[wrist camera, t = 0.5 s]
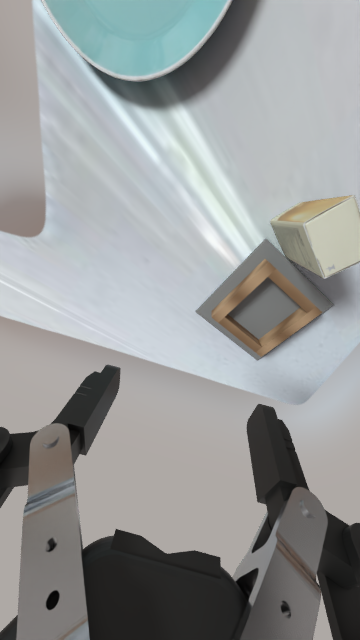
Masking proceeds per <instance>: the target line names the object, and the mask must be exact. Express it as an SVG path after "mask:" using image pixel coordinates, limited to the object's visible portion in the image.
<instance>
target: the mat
mask: <svg viewBox="0 0 360 640" xmlns="http://www.w3.org/2000/svg"><path fill="white" fill-rule="evenodd" d="M264 259H266V260H267V261H269V262H270V263H271V264H272V265H273V266H274V267H275V268H276V269H277V270H278V271H279V272H280V273H281V274H282V275H283V276H284V277H286V278H287V279H288V280H289V281H290V282H291V283H292V284H293V285H294V286H295V287H296V288H297V289H298V290H299V291H300V292H301V293H302V294H303V295H305V296H306V297H307V298H308V299H309V300H310V301H311V302H312V303H313V304H314V305H315V306H316V307H317V308H318V309H319V310H320V311H321V312H323V313H324V312H325V311H326V310H328V309H329V308H331V307H332V306H333V305H334V304H333V303H332V302H331V301H330V300H329V299H328V298H327V297H325V296H324V295H323V294H322V293H321V292H320V291H319V290H318V289H317V288H316V287H315V286H314V285H313V284H312V283H311V282H310V281H309V280H308V279H307V278H306V277H305V276H304V275H303V274H302V273H301V272H300V271H299V270H298V269H297V268H296V267H295V266H294V265H293V264H292V263H291V262H290V261H289V260H288V259H287V258H286V257H285V256H284V255H282V254H281V253H280V252H279V251H278V250H277V249H276V248H275V247H274V246H273V245H272V244H271V243H270V242H269V241H268V240H267V239H265V240H264V241H263V242H262V243H261V244H260V245H259V246H258V247H257V248H256V249H255V250H254V251H253V252H252V253H251V254H250V255H249V256H248V257H247V258H246V259H245V261H244V262H243V263H242V264H241V265H240V266H239V267H238V268H237V269H236V270H235V271H234V272H233V273H232V274H231V275H230V276H229V277H228V278H227V279H226V280H225V281H224V282H223V283H222V284H221V285H220V287H219V288H218V289H217V290H216V291H215V292H214V293H213V294H212V295H211V296H210V297H209V298H208V299H207V300H206V301H205V302H204V303H203V304H202V305H201V306H200V307H199V308H198V309H197V310H196V313H198V314H199V315H200V316H201V317H203V318H204V319H205V320H206V321H208V322H209V323H210V324H212V325H213V326H214V327H215V328H217V329H218V330H219V331H220V332H222V333H223V334H224V335H226V336H227V337H228V338H229V339H231V340H232V341H233V342H235V343H236V344H237V345H238V346H240V347H241V348H242V349H243V350H245V351H246V352H247V353H249V354H250V355H251V356H252V357H254V358H255V359H256V360H259V359H260V358H261V356H259V355H258V354H257V353H255V352H254V351H253V350H252V349H250V348H249V347H248V346H247V345H245V344H244V343H243V342H242V341H240V340H239V339H238V338H237V337H235V336H234V335H233V334H232V333H230V332H229V331H228V330H227V329H225V328H224V327H223V326H222V325H220V324H219V323H218V322H216V321H215V320H214V319H213V318H212V312H211V311H212V310H213V309H214V308H215V307H216V306H217V305H218V304H219V303H220V302H221V301H222V300H223V299H224V298H225V297H226V296H227V295H228V294H229V293H230V292H231V291H232V290H233V289H234V288H236V287H237V286H238V285H239V284H240V283H241V282H242V281H243V280H244V279H245V278H246V277H247V276H248V275H249V274H250V273H251V272H252V271H253V270H254V269H255V268H256V267H257V266H258V265H259V264H260V263H261V262H262V261H263V260H264ZM299 308H300V306H299V305H298V304H297V303H296V302H295V301H294V300H293V299H292V298H291V297H290V296H288V295H287V294H286V293H285V292H284V291H283V290H282V289H281V288H280V287H279V286H278V285H276V284H275V283H274V282H273V281H272V280H271V279H270V278H269V277H267V278H266V279H265V280H264V281H263V282H262V283H261V284H260V285H258V286H257V287H256V288H255V289H254V290H253V291H252V292H251V293H250V294H249V295H248V296H247V297H246V298H244V299H243V300H242V301H241V302H240V303H239V304H238V305H237V306H236V307H235V308H234V309H233V310H232V311H230V312H229V313H228V315H230V316H231V317H232V318H233V319H234V320H236V321H237V322H238V323H239V324H241V325H242V326H243V327H244V328H245V329H247V330H248V331H249V332H250V333H252V334H253V335H254V336H255V337H256V338H258V339H260V338H262V337H263V336H264V335H265V334H267V333H268V332H269V331H271V330H272V329H273V328H274V327H276V326H277V325H278V324H280V323H281V322H282V321H283V320H285V319H286V318H287V317H289V316H290V315H291V314H292V313H294V312H295V311H296V310H298V309H299ZM321 314H322V313H321ZM321 314H320V315H321ZM318 316H319V315H318ZM318 316H317V317H318ZM317 317H316V318H317ZM314 319H315V318H314ZM314 319H313V320H314ZM313 320H312V321H313ZM310 322H311V321H310ZM310 322H309V323H310ZM307 324H308V323H307ZM307 324H306V325H307ZM306 325H305V326H306ZM303 327H304V326H303ZM303 327H302V328H303ZM302 328H301V329H302ZM299 330H300V329H299ZM299 330H298V331H299ZM296 332H297V331H296ZM296 332H295V333H296ZM295 333H294V334H295ZM292 335H293V334H292ZM292 335H291V336H292ZM289 337H290V336H289ZM289 337H288V338H289ZM288 338H287V339H288ZM285 340H286V339H285ZM285 340H284V341H285ZM284 341H283V342H284ZM281 343H282V342H281ZM281 343H280V344H281ZM278 345H279V344H278ZM278 345H277V346H278ZM277 346H276V347H277ZM274 348H275V347H274ZM274 348H273V349H274ZM273 349H272V350H273ZM270 351H271V350H270ZM270 351H269V352H270ZM267 353H268V352H267ZM267 353H266V354H267ZM266 354H265V355H266ZM263 356H264V355H263ZM263 356H262V357H263Z"/></svg>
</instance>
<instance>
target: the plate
mask: <svg viewBox="0 0 360 640" xmlns="http://www.w3.org/2000/svg"><path fill="white" fill-rule="evenodd" d="M41 1H42V3H43V5H44V7H45V8H46V10H47V12H48V14H49V15H50V17H51V19H52V20H53V22H54V24H55V25H56V27H57V28H58V29H59V31H60V32H61V34H62V35H63V36H64V38H65V39H66V40H67V41H68V43H69V44H70V45H71V46H72V47H73V48H74V49H75V50H76V51H77V52H78V53H79V54H80V55H81V56H82V57H83V58H84V59H85V60H86V61H87V62H89V63H90V64H91V65H93V66H94V67H95V68H97V69H99V70H100V71H102V72H104V73H106V74H108V75H110V76H112V77H114V78H117V79H121V80H126V81H134V82H141V81H148V80H152V79H156V78H159V77H162V76H164V75H166V74H168V73H170V72H172V71H174V70H175V69H177V68H179V67H180V66H181V65H183V64H184V63H185V62H187V61H188V60H189V59H190V58H191V57H192V56H193V55H194V54H195V53H196V52H197V51H198V50H199V49H200V48H201V47H202V46H203V45H204V44H205V42H206V41H207V40H208V39H209V38H210V36H211V35H212V34H213V32H214V31H215V30H216V28H217V27H218V25H219V24H220V22H221V21H222V19H223V17H224V16H225V14H226V12H227V10H228V9H229V7H230V5H231V3H232V1H233V0H41Z"/></svg>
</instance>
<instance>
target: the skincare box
mask: <svg viewBox="0 0 360 640" xmlns="http://www.w3.org/2000/svg"><path fill="white" fill-rule="evenodd" d="M270 222H271V225H272V227H273V230H274V232H275V235H276V237H277V239H278V242H279V244H280V246H281V248H282V250H283V252H284V254H285V256H286V257H287V258H288V259H290V260H292V261H294V262H296V263H297V264H299V265H301V266H303V267H304V268H306V269H308V270H310V271H311V272H313V273H315V274H317V275H319V276H320V277H322V278H324V279H326V278H328V277H330V276H332V275H335V274H337V273H339V272H341V271H343V270H345V269H347V268H350V267H352V266H354V265H356V264H358V263H360V209H359V206H358V203H357V201H356V197H355V195H351V196H344V197H337V198H330V199H322V200H315V201H308V202H301V203H298V204H297V205H295V206H293V207H291V208H290V209H288V210H286V211H285V212H283V213H281V214H280V215H278V216H277V217H275V218H273V219H272V220H271V221H270Z"/></svg>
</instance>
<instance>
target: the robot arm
mask: <svg viewBox="0 0 360 640" xmlns="http://www.w3.org/2000/svg"><path fill="white" fill-rule="evenodd" d="M119 383H120V368H119V367H115V366H111V365H106V366H105V368H104V369H103V370H102V372H101V373H98V372H94V373H92V374H90V375H89V376H88V377H86V378H85V380H84V381H83V382H82V384H81V385H80V387H79V388H78V389H77V391H76V392H75V394H74V395H73V396H72V398H71V399H70V400H69V402H68V403H67V404H66V406H65V407H64V408H63V410H62V411H61V412H60V414H59V415H58V416H57V418H56V419H55V420H54V421H53V422H52V423H51V424H50V425H47V426H45V427H43V428H42V429H40V430H39V431H35V432H29V433H17V434H9V431H8V430H7V429H5V428H3V427H0V508H1V506H2V505H3V503H4V501H5V500H6V499H7V497H8V495H9V494H10V492H11V491H12V489H13V488H14V487H17V486H24V485H28V499H27V504H26V505H25V508H24V514H23V526H22V546H21V563H20V582H19V602H18V615H17V616H16V617H15V618H14V619H13V620H12V621H11V622H10V623H9V624H8V625H7V626H6V627H5V628H4V629H3V630H2V631H1V632H0V640H313V635H314V631H315V626H316V621H317V616H318V611H319V605H320V599H321V592H322V596H323V600H324V604H325V608H326V613H327V617H328V621H329V624H330V629H331V633H332V637H333V640H360V523H355V524H352V525H351V526H349V525H348V524H346V523H344V522H343V521H341V520H339V519H338V518H337V517H335V516H333V515H332V514H330V513H329V512H327V511H326V510H325V509H324V507H323V506H322V504H321V502H320V501H319V500H318V498H317V497H316V496H315V495H314V494H313V493H312V492H310V491H309V489H308V486H307V483H306V480H305V477H304V474H303V471H302V468H301V465H300V462H299V459H298V456H297V454H296V452H295V447H294V445H293V443H292V439H291V436H290V433H289V430H288V428H287V427H286V426H285V424H284V423H283V421H282V420H279V419H277V415H276V412H275V410H274V408H273V407H269V406H265V405H262V404H258V405H257V407H256V408H255V410H254V411H253V413H252V415H251V416H250V418H249V419H248V422H247V435H248V442H249V448H250V455H251V462H252V468H253V475H254V482H255V488H256V495H257V501H258V502H260V503H263V504H266V506H267V513H266V514H265V516H264V518H263V520H262V523H261V525H260V527H259V529H258V531H257V533H256V536H255V538H254V540H253V542H252V544H251V546H250V548H249V550H248V552H247V554H246V556H245V557H244V559H243V560H242V561H241V563H240V565H239V566H238V568H237V569H236V571H235V573H234V575H233V577H231V576H230V574H229V573H228V572H227V571H225V570H224V569H223V568H222V567H221V566H220V557H216V556H213V555H209V554H206V553H202V552H198V551H187V552H179V553H171V554H167V553H164V552H163V551H161V550H160V549H159V548H157V547H156V546H154V545H153V544H152V543H150V542H149V541H147V540H146V539H145V538H143V537H142V536H140V535H136V534H132V533H129V532H125V531H121V530H118V529H116V531H115V534H114V536H109V537H105V538H101V539H99V540H97V541H95V542H93V543H91V544H90V545H88V546H87V547H85V548H84V549H83V545H82V535H81V527H80V517H79V510H78V500H77V490H76V481H75V472H74V463H75V461H76V459H77V457H78V456H79V454H82V455H86V454H87V452H88V450H89V448H90V447H91V444H92V443H93V441H94V439H95V437H96V435H97V433H98V431H99V429H100V427H101V425H102V423H103V421H104V419H105V417H106V415H107V413H108V411H109V409H110V407H111V405H112V403H113V401H114V399H115V397H116V395H117V393H118V389H119ZM316 574H317V576H318V580H319V584H320V586H319V585H318V583H317V582H316ZM320 588H321V589H320Z"/></svg>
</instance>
